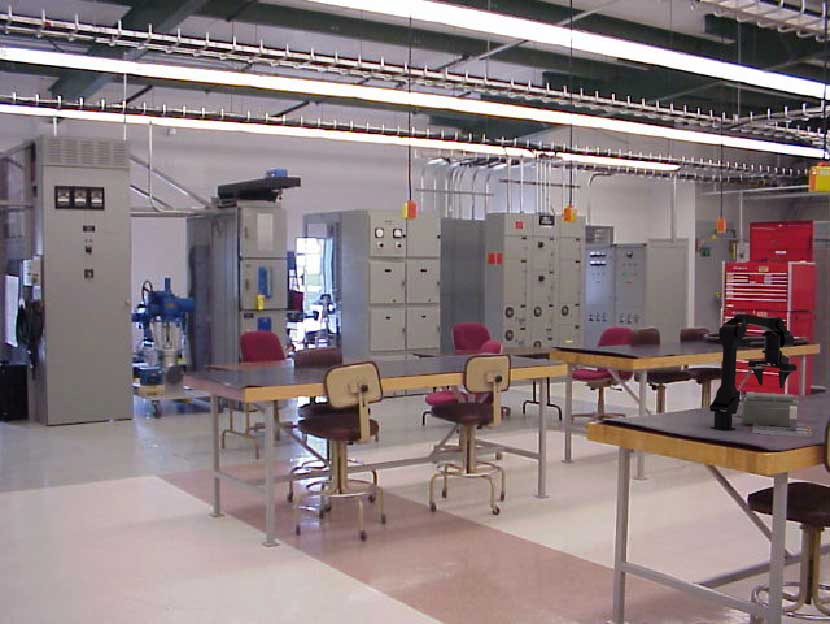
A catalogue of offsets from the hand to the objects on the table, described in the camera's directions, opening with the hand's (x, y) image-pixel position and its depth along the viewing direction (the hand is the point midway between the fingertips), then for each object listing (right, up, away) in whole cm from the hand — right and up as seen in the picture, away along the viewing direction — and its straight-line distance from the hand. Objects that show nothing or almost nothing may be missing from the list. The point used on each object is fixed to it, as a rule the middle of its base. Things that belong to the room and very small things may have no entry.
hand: (771, 386), depth 342 cm
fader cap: (-2, -13, -24) cm, 28 cm away
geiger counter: (-5, -15, -3) cm, 16 cm away
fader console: (-5, -15, -22) cm, 28 cm away
